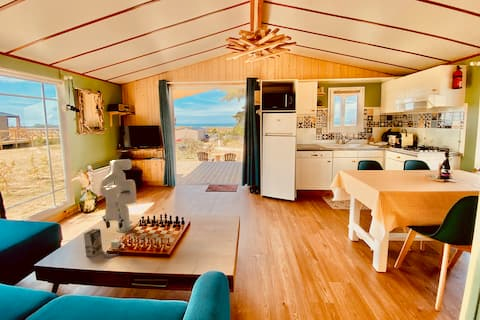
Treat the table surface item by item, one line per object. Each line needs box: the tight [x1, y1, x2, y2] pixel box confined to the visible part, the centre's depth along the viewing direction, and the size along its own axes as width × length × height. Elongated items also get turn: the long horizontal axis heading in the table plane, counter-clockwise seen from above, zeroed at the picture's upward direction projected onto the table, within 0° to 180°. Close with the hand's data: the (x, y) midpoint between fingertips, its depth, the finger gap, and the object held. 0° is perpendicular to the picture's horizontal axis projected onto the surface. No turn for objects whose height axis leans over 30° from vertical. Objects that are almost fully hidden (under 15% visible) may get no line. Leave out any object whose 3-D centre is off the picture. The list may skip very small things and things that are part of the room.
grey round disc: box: [103, 252, 119, 259], centre depth 189 cm, size 9×9×1 cm
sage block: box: [110, 238, 123, 249], centre depth 198 cm, size 5×5×6 cm
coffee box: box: [83, 228, 103, 257], centre depth 191 cm, size 9×6×16 cm
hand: (114, 227), depth 196 cm, fingers open, 9 cm apart
